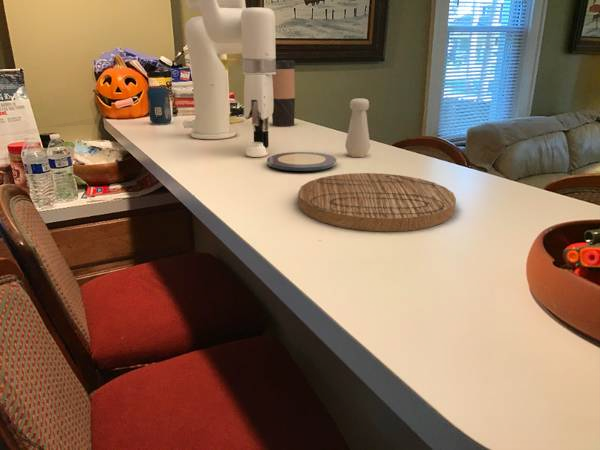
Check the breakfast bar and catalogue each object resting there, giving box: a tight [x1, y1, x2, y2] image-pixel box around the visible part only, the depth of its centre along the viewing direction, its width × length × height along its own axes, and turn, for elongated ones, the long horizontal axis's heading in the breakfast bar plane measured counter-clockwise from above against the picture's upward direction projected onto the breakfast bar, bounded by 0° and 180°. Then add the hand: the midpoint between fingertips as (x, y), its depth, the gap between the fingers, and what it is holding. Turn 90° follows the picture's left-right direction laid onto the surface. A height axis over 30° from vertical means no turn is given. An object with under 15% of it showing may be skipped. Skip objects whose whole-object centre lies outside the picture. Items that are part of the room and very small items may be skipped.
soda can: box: [146, 85, 172, 126], centre depth 156 cm, size 7×7×12 cm
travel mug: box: [271, 59, 296, 127], centre depth 151 cm, size 8×8×20 cm
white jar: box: [245, 141, 268, 158], centre depth 110 cm, size 5×3×5 cm
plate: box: [266, 151, 337, 172], centre depth 102 cm, size 15×15×1 cm
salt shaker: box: [345, 97, 371, 158], centre depth 109 cm, size 6×6×13 cm
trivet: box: [297, 172, 457, 232], centre depth 76 cm, size 25×25×2 cm
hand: (261, 147), depth 113 cm, fingers closed
